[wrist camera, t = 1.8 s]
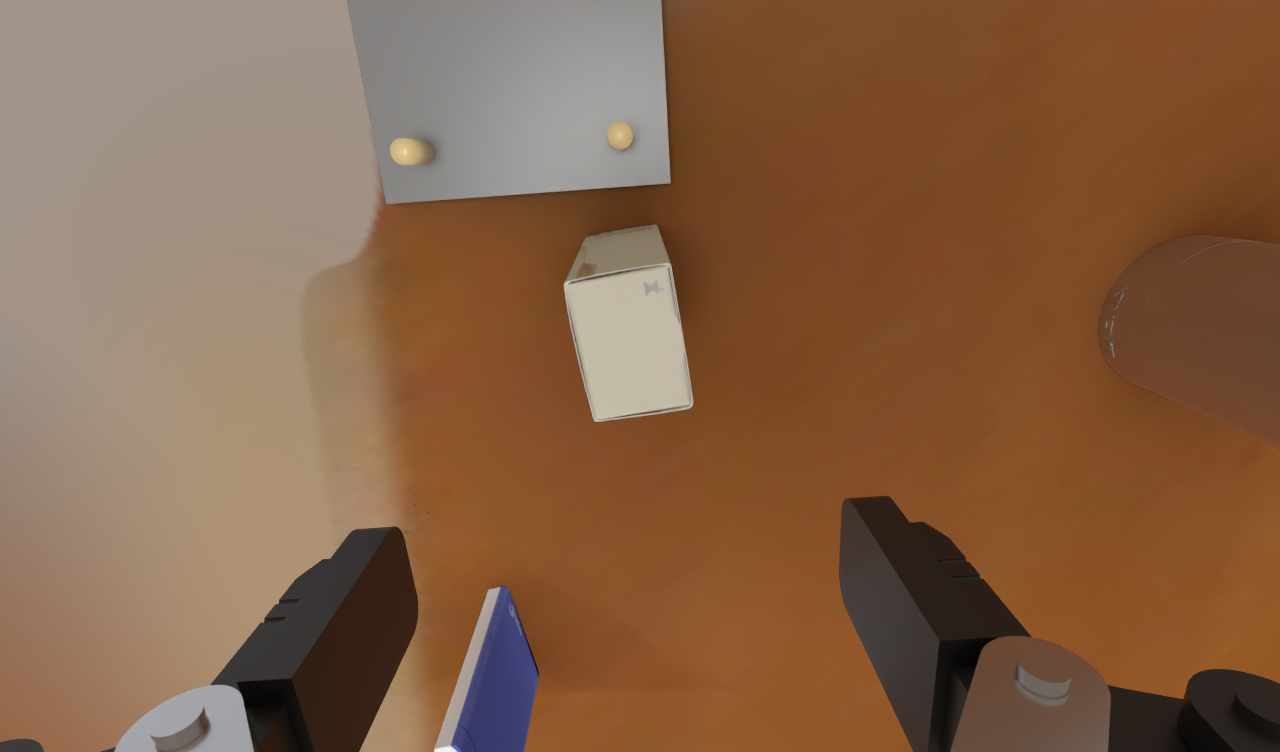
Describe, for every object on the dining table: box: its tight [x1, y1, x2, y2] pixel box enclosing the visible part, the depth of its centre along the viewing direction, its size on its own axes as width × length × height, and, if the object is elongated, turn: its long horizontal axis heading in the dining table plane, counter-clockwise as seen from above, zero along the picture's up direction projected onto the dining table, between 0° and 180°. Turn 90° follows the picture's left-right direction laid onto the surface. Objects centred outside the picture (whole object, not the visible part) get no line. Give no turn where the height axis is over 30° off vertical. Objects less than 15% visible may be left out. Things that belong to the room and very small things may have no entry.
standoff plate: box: [347, 0, 671, 204], centre depth 30 cm, size 15×15×4 cm
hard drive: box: [434, 586, 539, 752], centre depth 38 cm, size 2×8×12 cm, turn 13°
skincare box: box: [564, 224, 693, 422], centre depth 30 cm, size 6×4×12 cm
